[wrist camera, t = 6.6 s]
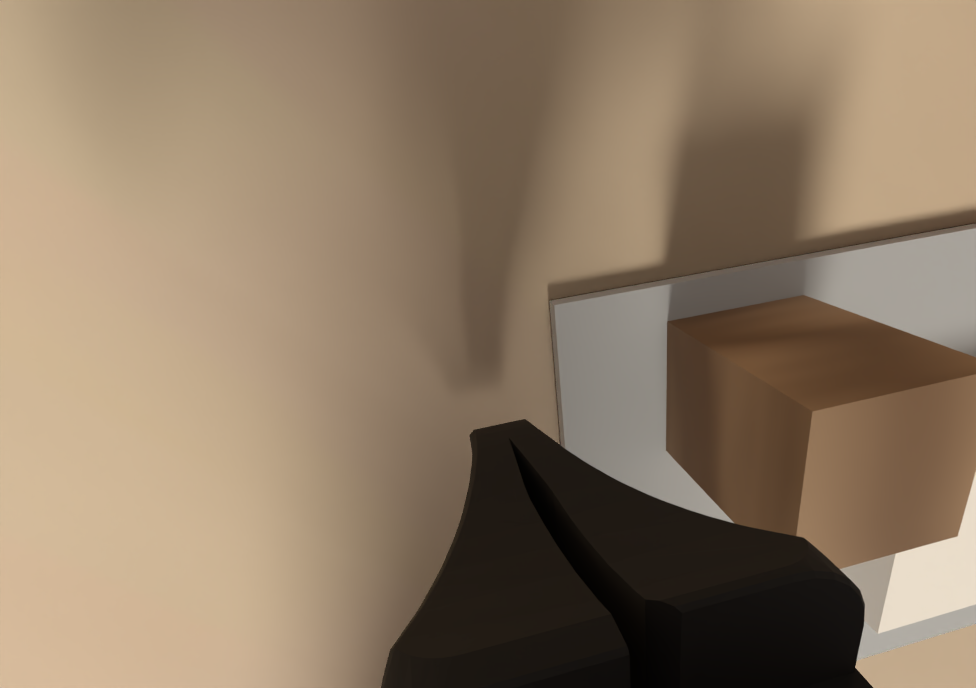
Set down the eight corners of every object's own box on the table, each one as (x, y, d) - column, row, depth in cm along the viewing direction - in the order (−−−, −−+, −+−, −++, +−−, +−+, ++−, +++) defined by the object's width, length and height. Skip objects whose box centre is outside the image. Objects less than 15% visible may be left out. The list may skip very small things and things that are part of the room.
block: (666, 450, 15) (790, 582, 11) (667, 321, 14) (812, 411, 9) (789, 422, 16) (957, 536, 11) (803, 294, 14) (1005, 367, 10)
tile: (877, 633, 17) (1054, 580, 18) (918, 453, 15) (1122, 403, 16) (830, 587, 19) (994, 541, 20) (859, 419, 16) (1045, 376, 17)
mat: (583, 731, 20) (587, 742, 20) (549, 300, 13) (554, 305, 13) (1028, 597, 23) (1038, 604, 22) (1176, 186, 16) (1195, 187, 16)
